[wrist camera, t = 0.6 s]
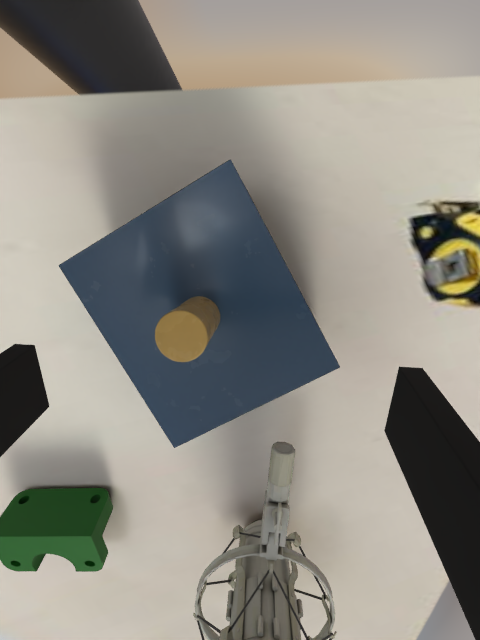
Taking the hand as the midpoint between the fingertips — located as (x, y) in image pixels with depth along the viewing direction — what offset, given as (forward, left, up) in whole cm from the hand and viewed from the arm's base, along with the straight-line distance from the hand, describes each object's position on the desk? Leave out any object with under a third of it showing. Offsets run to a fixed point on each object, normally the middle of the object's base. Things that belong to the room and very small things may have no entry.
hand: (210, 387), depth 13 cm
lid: (-1, -2, -13) cm, 14 cm away
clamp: (+13, -30, -23) cm, 40 cm away
